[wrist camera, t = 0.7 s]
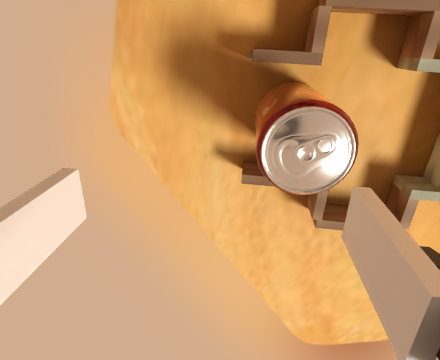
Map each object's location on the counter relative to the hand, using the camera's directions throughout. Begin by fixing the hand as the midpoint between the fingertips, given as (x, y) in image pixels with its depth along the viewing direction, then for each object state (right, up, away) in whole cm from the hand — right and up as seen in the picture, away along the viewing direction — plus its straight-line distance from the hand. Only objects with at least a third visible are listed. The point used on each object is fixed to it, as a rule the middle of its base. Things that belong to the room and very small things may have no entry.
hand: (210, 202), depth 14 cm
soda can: (+8, +8, +18) cm, 21 cm away
